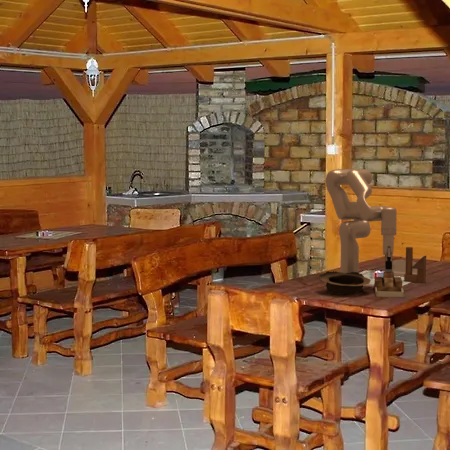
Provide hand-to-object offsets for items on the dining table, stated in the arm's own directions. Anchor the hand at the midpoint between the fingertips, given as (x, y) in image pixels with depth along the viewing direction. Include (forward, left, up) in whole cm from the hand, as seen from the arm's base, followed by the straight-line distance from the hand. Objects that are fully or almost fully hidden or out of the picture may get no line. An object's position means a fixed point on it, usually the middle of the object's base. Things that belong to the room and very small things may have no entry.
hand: (388, 268), depth 414 cm
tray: (0, -16, -10) cm, 19 cm away
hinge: (+10, +42, -11) cm, 44 cm away
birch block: (0, -8, -8) cm, 11 cm away
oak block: (0, -3, -8) cm, 9 cm away
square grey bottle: (0, 0, -6) cm, 6 cm away
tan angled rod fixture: (+15, +23, -11) cm, 29 cm away
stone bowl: (-21, -12, -11) cm, 27 cm away
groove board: (0, -4, -10) cm, 11 cm away
